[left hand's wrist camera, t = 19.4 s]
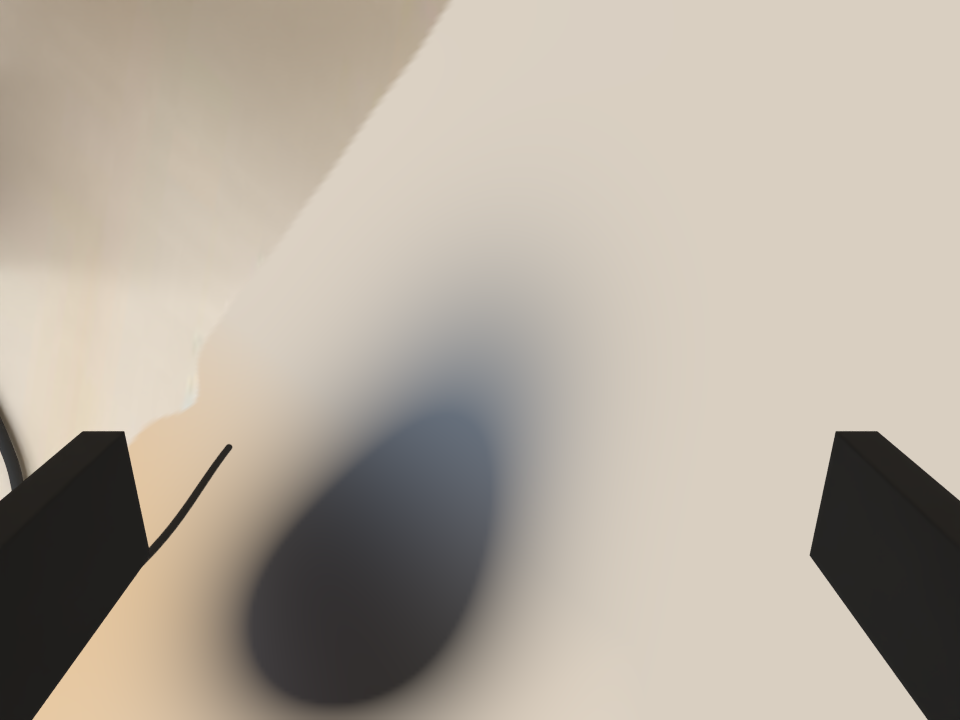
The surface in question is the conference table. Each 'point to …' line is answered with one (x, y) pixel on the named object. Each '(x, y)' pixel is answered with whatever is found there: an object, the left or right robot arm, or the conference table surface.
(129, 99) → the conference table surface
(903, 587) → the left robot arm
